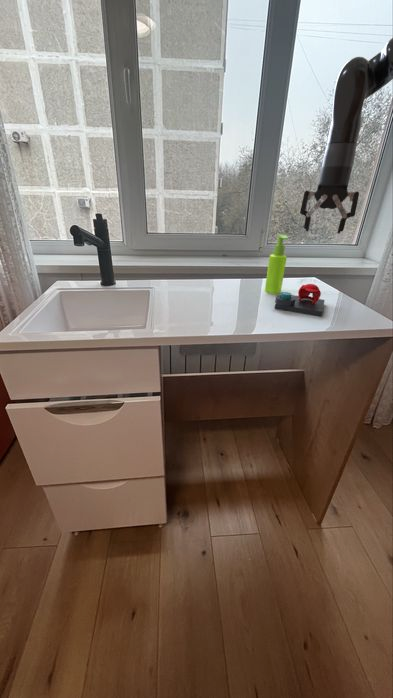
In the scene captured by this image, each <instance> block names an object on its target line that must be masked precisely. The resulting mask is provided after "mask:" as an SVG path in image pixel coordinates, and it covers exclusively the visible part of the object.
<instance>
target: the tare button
mask: <svg viewBox="0 0 393 698" xmlns="http://www.w3.org/2000/svg"><path fill="white" fill-rule="evenodd" d="M280 295H281V298H282V299H286V300H289V299H291V295H292V293H291V292H288V291H281V293H280Z"/></svg>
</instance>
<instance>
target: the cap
mask: <svg viewBox="0 0 393 698" xmlns="http://www.w3.org/2000/svg"><path fill="white" fill-rule="evenodd" d="M297 294H298V295H297V296H298V297H299V301H300V300H301V299H311V300H313V301H312V304H314V303H316V302H317V301H318V299H321V294H322V292H321V290H320V287H319V286H318V285H316V284H314V283H306V284H302V285H301V286H300V287H299V289H298V291H297ZM310 295H312V296H310Z"/></svg>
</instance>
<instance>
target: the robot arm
mask: <svg viewBox="0 0 393 698" xmlns="http://www.w3.org/2000/svg"><path fill="white" fill-rule="evenodd" d="M391 81H393V37H391V38H390V39H389V40H388V41H387V42H386V44H385V46H384V47H383V49H382V50H381V51H380V52H378V53H377V54H375V55H374V56H373V57H372V58H370V59H369V60H368V59H367V58H365V57H364V56H356V57H353V58H351V59H349V60H348V61H347V62H346V63H345V64H344V65H343V66H342V68H341V70H340V72H339V73H338V76H337V78H336V82H335V87H334V92H333V93H334V94H333V102H332V114H331V115H332V116H331V124H330V127H329V132H328V137H327V143H326V147H325V150H324V154H323V156H322V162H321V168H320V173H319V178H318V183H317V188H316V190H315V191H310V190H305V191H304V193H303V197H302V202H301V206H300V211H299V214H300V215H302V216H304V218H305V220H304V224H303V229H304V230H305V232H309V231H310V227H311V222H312V215H313V214H314V213H315V212H316V211H317V210H318V209H319V208H320V209H323V210H325V209H330V210H335V209H337V210H338V212H339V215H340V216H341V218H340V221H339V225H338V229H337V234H339V235H340V234H341V232H343V231H344V230H345V226H346V222H347V220H348V219H349V218H352V217H355V215H356V211H357V206H358V201H359V197H360V192H359V190H358V191H357V190H356V191H351V192H349V191H348V187H349V184H350V179H351V175H352V171H353V166H354V163H355V158H356V151H357V146H358V141H359V136H360V132H361V128H362V119H363V118H362V113H363V107H364V104H365V100H366V99H368V98H370V97H372V96H373V95H374V94H375V93H377V92H378V91H379V90H381V89H382V88H384V87H385V86H386V85H387V84H389V83H390V82H391ZM313 197H314V199H315V201H316V203H315V204H314V205H313V206H312V207H311V208H309V210H307V207H308V203H309V201H310V200H311V199H312V198H313ZM347 198H349V201H350V202H351V207H350V211H349V212H346V210H345V207H344V206H343V204H342V203H343V202H344V201H345V200H346V199H347Z"/></svg>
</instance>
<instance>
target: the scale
mask: <svg viewBox="0 0 393 698" xmlns="http://www.w3.org/2000/svg"><path fill="white" fill-rule="evenodd" d="M325 300H326V299H323V298H322V299H321V298H319V299H318V301H317V302H316V303H314V304H312V301H313V300H311V299H301V300H300V301H299V297H298V295H296V294H295V295H294V294H291V299H289V300H286V299H282V298H281V294H276V296H275V301H274V304H275V305H274V310H278V311H284V312H289V313H297V314H303V315H308V316H315V317H320V318H321V317H322V316H323V312H324V306H325Z"/></svg>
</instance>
